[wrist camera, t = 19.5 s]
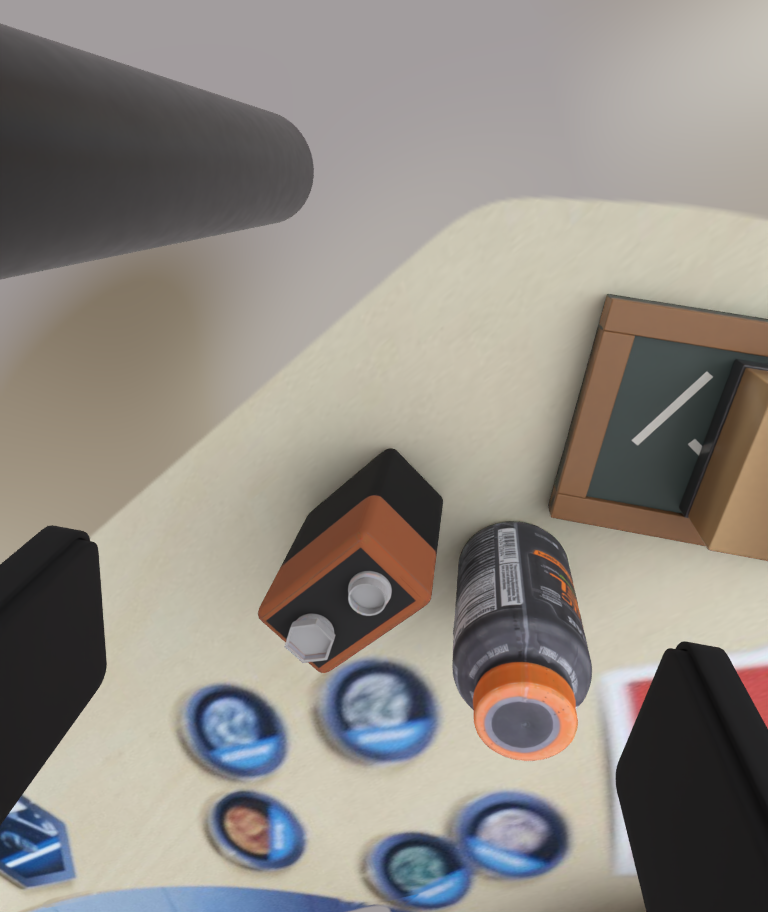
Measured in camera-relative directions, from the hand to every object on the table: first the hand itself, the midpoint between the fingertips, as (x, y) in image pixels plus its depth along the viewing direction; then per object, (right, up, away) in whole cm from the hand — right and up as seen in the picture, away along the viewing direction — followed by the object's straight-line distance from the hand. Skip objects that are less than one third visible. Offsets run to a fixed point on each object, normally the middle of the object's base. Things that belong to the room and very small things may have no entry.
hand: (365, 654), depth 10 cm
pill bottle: (+7, -3, +24) cm, 26 cm away
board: (+17, +4, +19) cm, 26 cm away
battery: (0, +1, +24) cm, 24 cm away
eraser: (+17, +4, +19) cm, 26 cm away
